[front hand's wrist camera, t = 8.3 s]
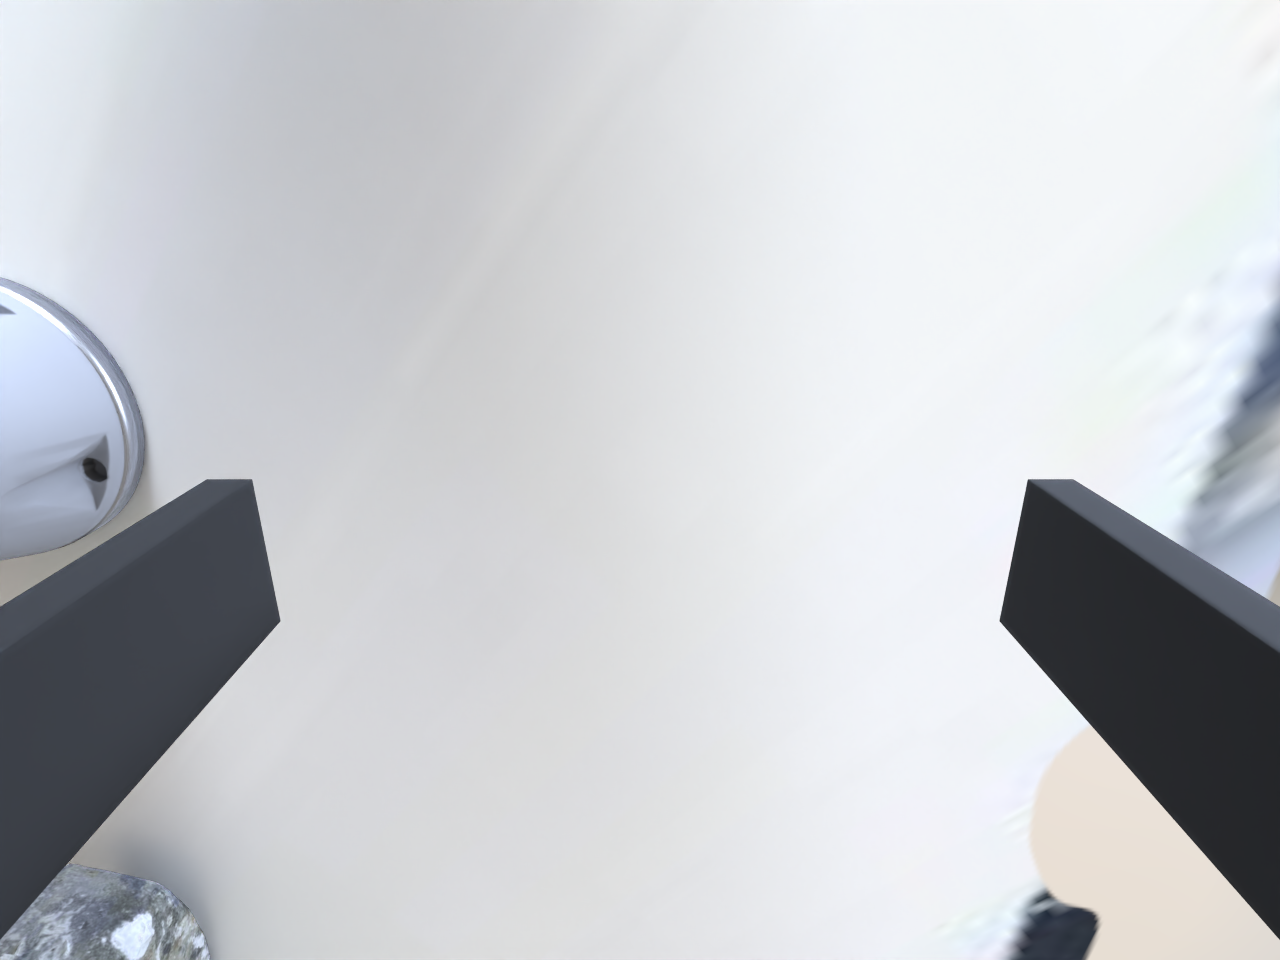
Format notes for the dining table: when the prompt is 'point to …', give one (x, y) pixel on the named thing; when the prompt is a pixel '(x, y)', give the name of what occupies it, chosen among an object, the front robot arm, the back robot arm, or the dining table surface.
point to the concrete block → (104, 921)
